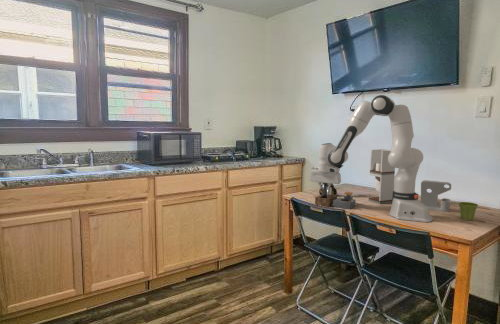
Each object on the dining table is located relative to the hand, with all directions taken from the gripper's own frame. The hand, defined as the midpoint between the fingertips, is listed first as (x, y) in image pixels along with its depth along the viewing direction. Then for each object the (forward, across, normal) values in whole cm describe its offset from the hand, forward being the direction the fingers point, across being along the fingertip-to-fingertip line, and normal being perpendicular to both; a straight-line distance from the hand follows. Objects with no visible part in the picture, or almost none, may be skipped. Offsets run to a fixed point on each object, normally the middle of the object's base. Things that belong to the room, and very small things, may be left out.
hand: (324, 189), depth 219 cm
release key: (+10, +12, +12) cm, 19 cm away
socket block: (+10, +12, +6) cm, 17 cm away
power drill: (+10, -7, +30) cm, 33 cm away
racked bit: (+10, 0, +8) cm, 13 cm away
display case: (+10, +28, +31) cm, 43 cm away
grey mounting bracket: (+10, +60, +31) cm, 68 cm away
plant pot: (+10, +78, +16) cm, 80 cm away
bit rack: (+10, 0, +4) cm, 11 cm away
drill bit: (+8, 0, 0) cm, 8 cm away
